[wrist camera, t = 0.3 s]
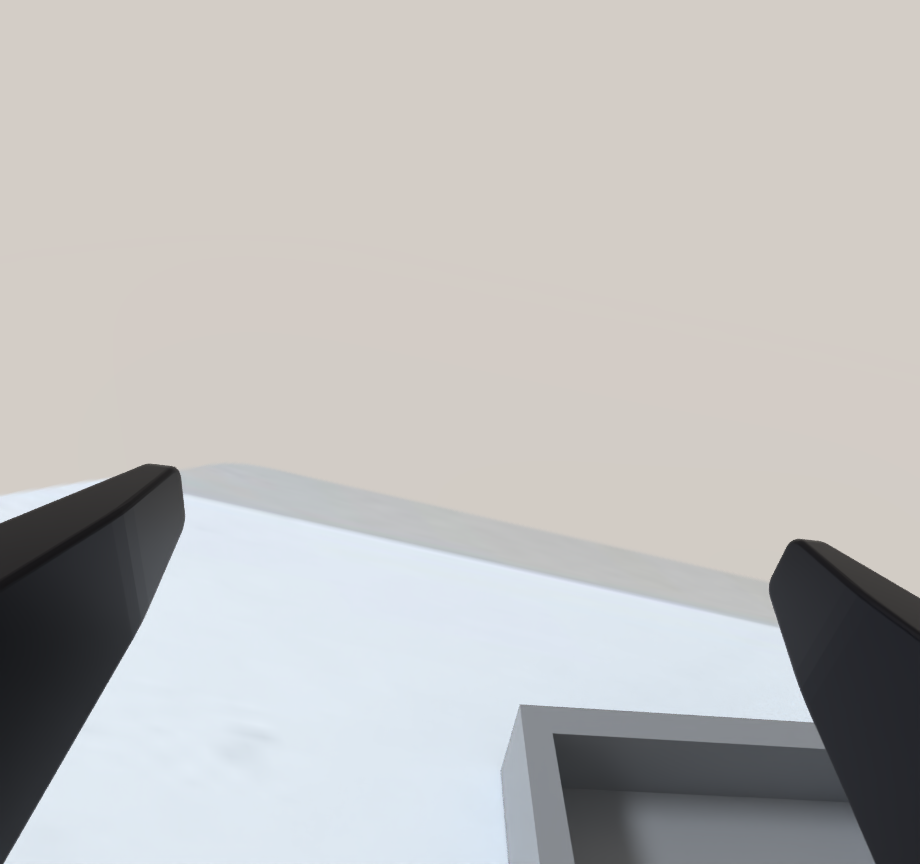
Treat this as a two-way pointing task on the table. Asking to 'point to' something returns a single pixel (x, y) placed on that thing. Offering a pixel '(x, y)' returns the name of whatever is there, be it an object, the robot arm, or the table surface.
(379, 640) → the table surface
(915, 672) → the robot arm
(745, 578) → the table surface
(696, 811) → the tray
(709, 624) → the table surface
